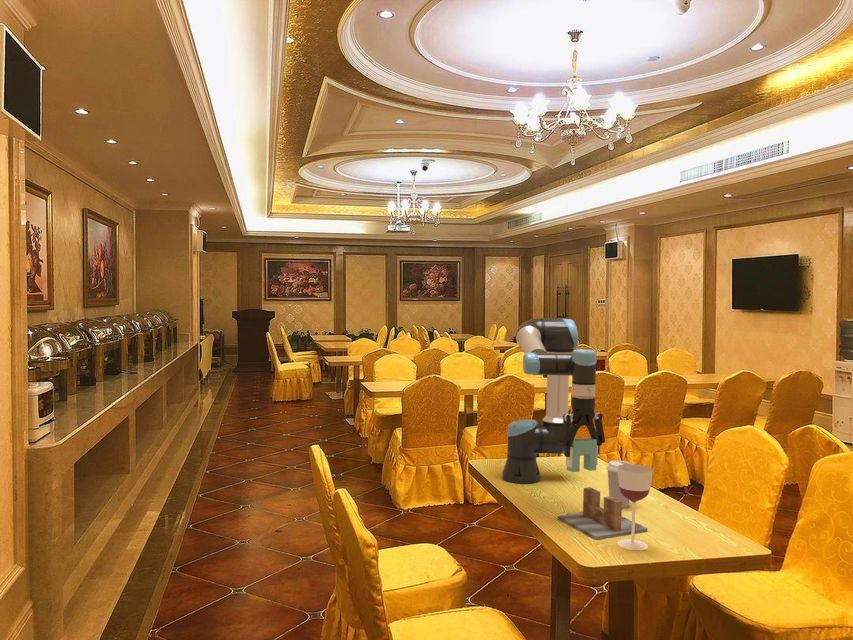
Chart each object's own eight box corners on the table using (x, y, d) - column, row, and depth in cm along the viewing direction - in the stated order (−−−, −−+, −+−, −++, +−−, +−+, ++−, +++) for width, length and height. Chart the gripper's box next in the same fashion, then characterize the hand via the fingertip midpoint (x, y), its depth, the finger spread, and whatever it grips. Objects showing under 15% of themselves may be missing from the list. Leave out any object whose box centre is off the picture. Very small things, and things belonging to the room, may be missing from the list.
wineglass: (610, 539, 199) (612, 464, 198) (642, 538, 200) (644, 464, 199) (622, 550, 190) (624, 472, 189) (655, 550, 191) (658, 472, 190)
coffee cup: (634, 510, 226) (636, 467, 225) (606, 508, 228) (607, 465, 227) (631, 502, 235) (633, 461, 235) (604, 500, 237) (605, 459, 237)
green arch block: (566, 469, 214) (567, 439, 214) (589, 467, 217) (590, 437, 217) (573, 472, 211) (573, 441, 210) (596, 470, 214) (596, 439, 214)
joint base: (557, 518, 216) (558, 488, 216) (606, 511, 224) (606, 482, 224) (595, 539, 198) (596, 507, 197) (647, 531, 206) (648, 500, 205)
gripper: (561, 399, 206) (559, 470, 206) (618, 397, 214) (616, 465, 214) (548, 396, 213) (546, 465, 213) (603, 394, 221) (602, 460, 221)
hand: (581, 465), depth 214 cm, fingers closed on green arch block, 9 cm apart
